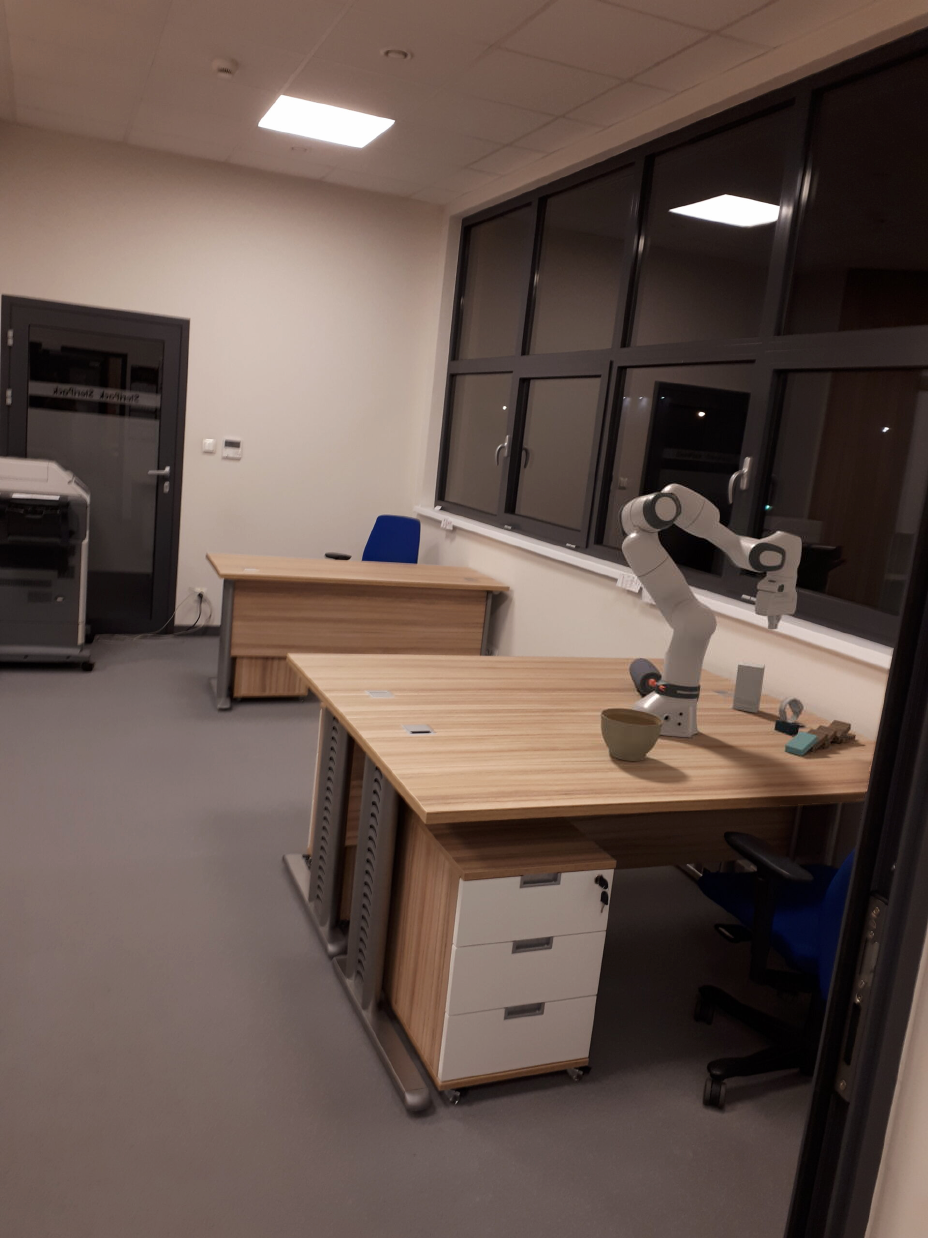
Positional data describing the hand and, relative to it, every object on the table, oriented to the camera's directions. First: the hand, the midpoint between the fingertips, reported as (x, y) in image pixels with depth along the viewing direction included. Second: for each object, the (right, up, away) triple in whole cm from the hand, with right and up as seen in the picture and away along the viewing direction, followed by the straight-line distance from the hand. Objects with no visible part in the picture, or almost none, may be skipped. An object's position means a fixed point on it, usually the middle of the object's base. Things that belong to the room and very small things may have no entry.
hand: (772, 629), depth 291 cm
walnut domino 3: (+16, -33, -6) cm, 37 cm away
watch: (+5, -32, +2) cm, 32 cm away
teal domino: (-1, -34, -23) cm, 41 cm away
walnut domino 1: (+4, -34, -18) cm, 39 cm away
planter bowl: (-52, -33, -43) cm, 75 cm away
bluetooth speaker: (-33, -22, +36) cm, 53 cm away
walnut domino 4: (+18, -34, -4) cm, 38 cm away
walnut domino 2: (+9, -34, -12) cm, 37 cm away
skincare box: (-1, -27, +26) cm, 37 cm away
